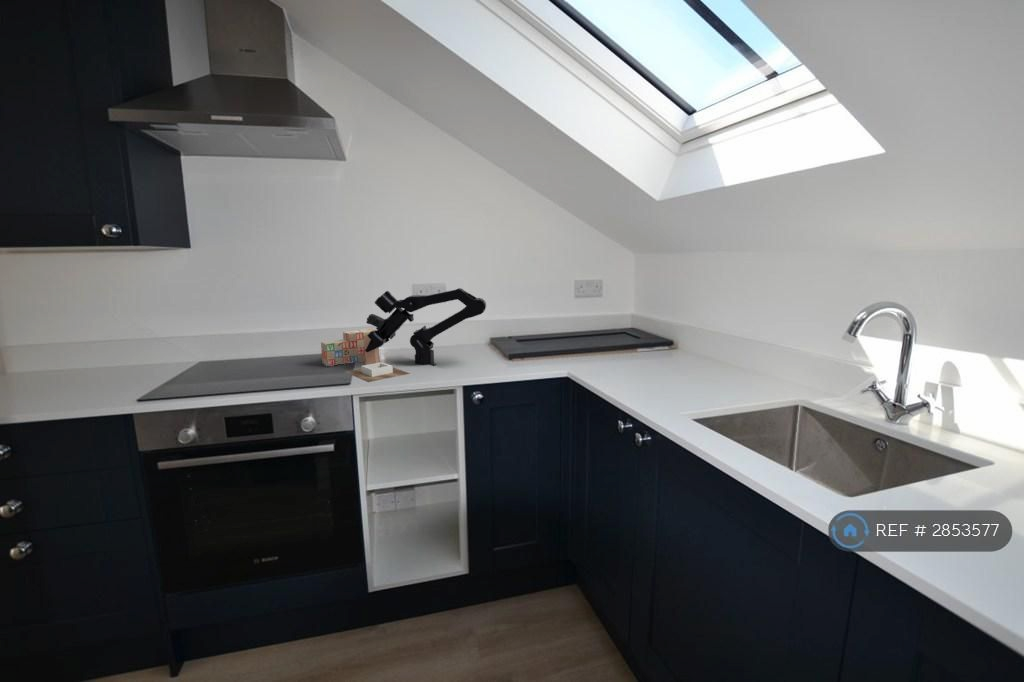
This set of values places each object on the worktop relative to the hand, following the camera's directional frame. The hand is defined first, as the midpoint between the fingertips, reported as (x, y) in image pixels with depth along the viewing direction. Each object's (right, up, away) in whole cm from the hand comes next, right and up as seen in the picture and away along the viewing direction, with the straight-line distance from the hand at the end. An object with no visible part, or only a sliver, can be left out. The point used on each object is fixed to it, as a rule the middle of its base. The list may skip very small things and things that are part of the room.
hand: (368, 350), depth 183 cm
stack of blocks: (-10, -5, +11) cm, 15 cm away
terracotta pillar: (+1, -6, +1) cm, 7 cm away
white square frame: (+7, -8, -12) cm, 16 cm away
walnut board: (+7, -9, -12) cm, 17 cm away
